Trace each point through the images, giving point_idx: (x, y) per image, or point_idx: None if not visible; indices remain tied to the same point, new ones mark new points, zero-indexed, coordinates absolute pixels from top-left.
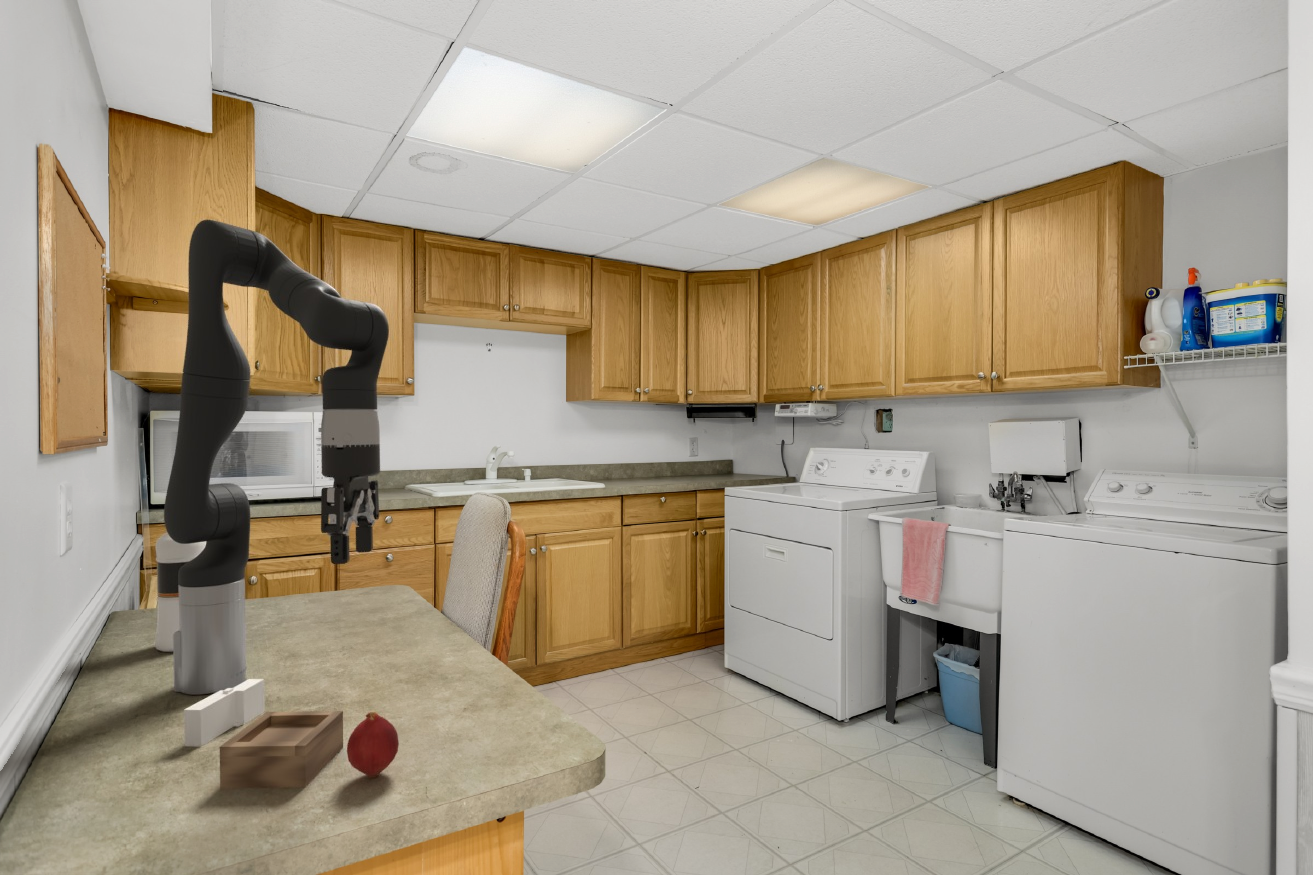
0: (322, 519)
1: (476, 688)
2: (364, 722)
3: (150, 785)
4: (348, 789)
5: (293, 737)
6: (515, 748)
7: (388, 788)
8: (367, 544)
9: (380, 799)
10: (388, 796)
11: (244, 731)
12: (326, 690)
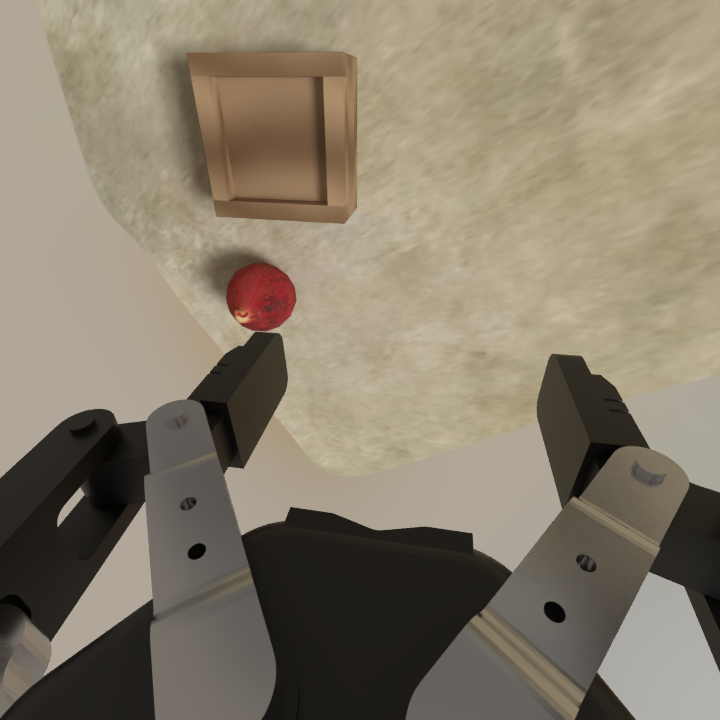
0: (16, 474)
1: None
2: (237, 304)
3: None
4: (244, 261)
5: (278, 159)
6: (347, 416)
7: None
8: (546, 420)
9: None
10: None
11: (249, 63)
12: (691, 21)
